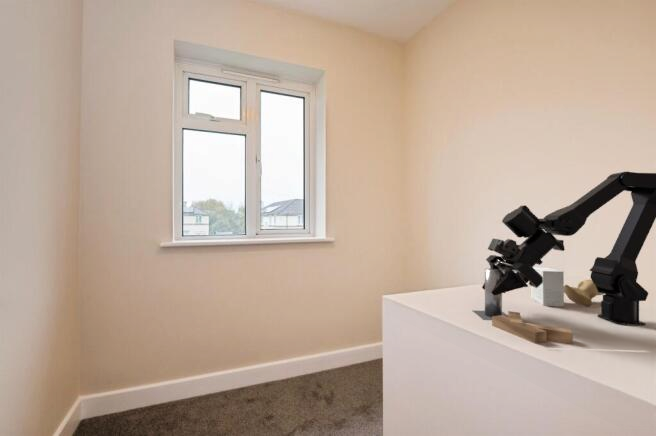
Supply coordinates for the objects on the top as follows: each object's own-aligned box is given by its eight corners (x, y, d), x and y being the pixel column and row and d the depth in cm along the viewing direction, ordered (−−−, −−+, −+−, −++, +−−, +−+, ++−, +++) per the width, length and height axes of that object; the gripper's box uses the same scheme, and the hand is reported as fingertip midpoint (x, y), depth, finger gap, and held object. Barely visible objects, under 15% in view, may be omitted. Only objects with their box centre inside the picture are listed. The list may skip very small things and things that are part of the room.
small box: (564, 307, 90) (564, 271, 90) (542, 306, 91) (543, 270, 91) (550, 300, 98) (550, 267, 98) (530, 299, 99) (530, 266, 99)
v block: (513, 320, 78) (513, 310, 78) (578, 344, 63) (578, 332, 63) (484, 323, 75) (484, 313, 75) (545, 349, 60) (545, 336, 60)
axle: (497, 313, 83) (497, 268, 83) (504, 318, 79) (505, 271, 79) (482, 312, 83) (482, 268, 83) (488, 317, 79) (489, 271, 79)
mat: (501, 312, 85) (501, 311, 85) (517, 322, 77) (517, 320, 77) (471, 311, 85) (471, 310, 85) (483, 320, 77) (483, 319, 77)
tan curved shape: (560, 283, 96) (583, 270, 100) (557, 301, 98) (580, 288, 102) (590, 296, 89) (614, 282, 93) (586, 316, 91) (610, 301, 95)
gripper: (493, 227, 90) (454, 264, 91) (529, 229, 71) (479, 275, 72) (521, 254, 89) (482, 291, 90) (565, 263, 71) (514, 310, 72)
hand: (487, 291), depth 81 cm, fingers open, 5 cm apart
